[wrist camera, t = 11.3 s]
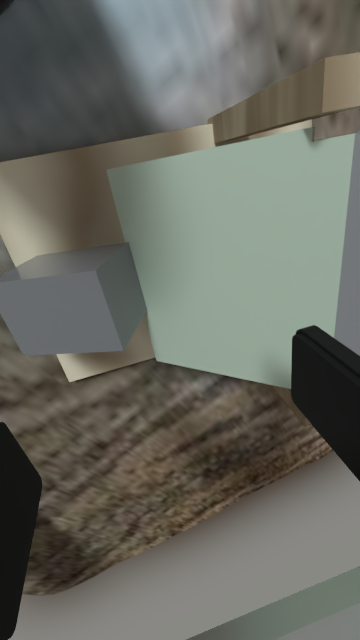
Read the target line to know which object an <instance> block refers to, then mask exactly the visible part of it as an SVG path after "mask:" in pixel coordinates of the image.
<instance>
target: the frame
mask: <svg viewBox="0 0 360 640" xmlns="http://www.w3.org/2000/svg"><path fill="white" fill-rule="evenodd" d="M357 107H360V52H358V53H352V54H346V55H340V56H333V57H327V58H324V59H322V60H320V61H318V62H316V63H314V64H312V65H311V66H309V67H307V68H305V69H303V70H301V71H299V72H297V73H295V74H293V75H291V76H289V77H288V78H286V79H284V80H282V81H280V82H278V83H276V84H274V85H272V86H270V87H268V88H267V89H265V90H263V91H261V92H259V93H257V94H255V95H253V96H251V97H249V98H247V99H246V100H244V101H242V102H240V103H238V104H236V105H234V106H232V107H230V108H228V109H226V110H225V111H223V112H221V113H219V114H217V115H215V116H213V117H211V118H209V119H208V124H207V125H201V126H196V127H190V128H185V129H179V130H174V131H168V132H163V133H157V134H152V135H147V136H141V137H136V138H130V139H125V140H119V141H114V142H108V143H103V144H97V145H92V146H86V147H81V148H75V149H70V150H64V151H59V152H54V153H48V154H43V155H37V156H32V157H26V158H21V159H15V160H10V161H4V162H0V234H1V237H2V239H3V241H4V243H5V245H6V247H7V249H8V252H9V254H10V256H11V258H12V260H13V262H14V264H15V267H17V266H19V265H21V264H22V263H24V262H26V261H28V260H30V259H32V258H34V257H35V256H37V255H44V254H51V253H58V252H64V251H71V250H78V249H85V248H91V247H98V246H105V245H112V244H118V243H125V240H124V236H123V232H122V228H121V225H120V221H119V217H118V213H117V209H116V206H115V202H114V198H113V194H112V190H111V187H110V183H109V179H108V175H107V171H106V170H107V169H112V168H117V167H122V166H127V165H131V164H136V163H141V162H146V161H151V160H156V159H160V158H165V157H170V156H175V155H180V154H185V153H189V152H194V151H199V150H204V149H209V148H213V147H218V146H223V145H228V144H233V143H238V142H242V141H247V140H252V139H257V138H262V137H267V136H271V135H276V134H281V133H286V132H291V131H296V130H300V129H305V128H310V127H312V119H315V118H319V117H323V116H326V115H330V114H334V113H338V112H342V111H345V110H349V109H353V108H357ZM56 355H57V357H58V359H59V361H60V363H61V365H62V367H63V370H64V372H65V374H66V376H67V378H68V380H69V382H72V381H75V380H79V379H82V378H86V377H89V376H93V375H96V374H100V373H103V372H107V371H110V370H114V369H117V368H121V367H124V366H128V365H131V364H135V363H138V362H141V361H145V360H148V359H152V358H155V354H154V350H153V346H152V342H151V338H150V335H149V331H148V327H147V323H146V319H145V316H143V318H142V320H141V321H140V323H139V325H138V327H137V328H136V330H135V332H134V334H133V335H132V337H131V339H130V341H129V342H128V344H127V346H126V348H125V349H124V351H113V352H91V353H69V354H56ZM272 387H273V388H274V389H275V390H276V392H277V393H278V394H279V395H280V396H281V398H282V399H283V400H284V401H285V403H286V404H287V405H288V406H289V408H290V409H291V410H292V411H293V412H294V414H295V415H296V416H297V417H298V419H299V420H300V421H301V422H302V424H303V425H304V426H308V425H311V423H310V422H309V421H308V419H307V418H306V417H305V416H304V415H303V413H302V412H301V411H300V410H299V409H298V408H297V406H296V405H295V404H294V402H293V400H292V397H291V389H288V388H283V387H278V386H274V385H272Z"/></svg>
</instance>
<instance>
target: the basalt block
mask: <svg viewBox="0 0 360 640" xmlns="http://www.w3.org/2000/svg"><path fill="white" fill-rule="evenodd" d="M146 311H147V307H146V303H145V300H144V296H143V292H142V289H141V285H140V282H139V278H138V274H137V271H136V267H135V263H134V260H133V256H132V252H131V249H130V245H129V242H125V243H118V244H112V245H105V246H98V247H91V248H85V249H78V250H71V251H64V252H58V253H51V254H44V255H37V256H35V257H34V258H32V259H30V260H28V261H26V262H24V263H22V264H21V265H19V266H17V267H15V268H13V269H11V270H10V271H8V272H6V273H4V274H2V275H0V314H1V316H2V318H3V319H4V321H5V323H6V325H7V326H8V328H9V330H10V332H11V334H12V335H13V337H14V339H15V341H16V343H17V344H18V346H19V348H20V350H21V352H22V353H23V355H24V356H25V355H47V354H69V353H91V352H113V351H124V349H125V348H126V346H127V344H128V342H129V341H130V339H131V337H132V335H133V334H134V332H135V330H136V328H137V327H138V325H139V323H140V321H141V320H142V318H143V316H144V315H145V313H146Z"/></svg>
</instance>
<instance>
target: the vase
mask: <svg viewBox="0 0 360 640" xmlns="http://www.w3.org/2000/svg"><path fill="white" fill-rule="evenodd" d="M12 2H13V0H0V15H1V14H2V13H3V12H4V11H5V10H6V9H7V8H8V7H9V6H10V5H11V3H12Z"/></svg>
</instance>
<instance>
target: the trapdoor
mask: <svg viewBox="0 0 360 640" xmlns="http://www.w3.org/2000/svg"><path fill="white" fill-rule="evenodd" d="M314 130H315V127H310V128H305V129H300V130H296V131H291V132H286V133H281V134H276V135H271V136H267V137H262V138H257V139H252V140H247V141H242V142H238V143H233V144H228V145H223V146H218V147H213V148H209V149H204V150H199V151H194V152H189V153H185V154H180V155H175V156H170V157H165V158H160V159H156V160H151V161H146V162H141V163H136V164H131V165H127V166H122V167H117V168H112V169H107V170H106V171H107V175H108V179H109V183H110V187H111V190H112V194H113V198H114V202H115V206H116V209H117V213H118V217H119V221H120V225H121V228H122V232H123V236H124V240H125V242H129V245H130V249H131V252H132V256H133V260H134V263H135V267H136V271H137V274H138V278H139V282H140V285H141V289H142V292H143V296H144V300H145V303H146V307H147V311H146V313H145V315H144V316H145V319H146V323H147V327H148V331H149V335H150V338H151V342H152V346H153V350H154V354H155V357H156V361H160V362H164V363H169V364H174V365H179V366H183V367H188V368H193V369H198V370H202V371H207V372H212V373H217V374H221V375H226V376H231V377H236V378H240V379H245V380H250V381H255V382H259V383H264V384H269V385H274V386H278V387H283V388H288V389H291V365H292V337H293V336H294V335H296V331H297V330H299V329H302V328H305V327H309V326H312V325H316V326H318V327H319V328H321V329H322V330H323V331H325V332H326V333H328V334H329V335H331V336H332V337H333V338H335V339H336V340H338V341H339V342H341V343H342V344H343V345H345V346H346V347H348V348H349V349H351V350H352V351H353V352H355V353H356V354H358V355H359V356H360V131H358V132H356V133H354V134H349V135H343V136H338V137H333V138H327V139H322V140H316V141H314Z"/></svg>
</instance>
